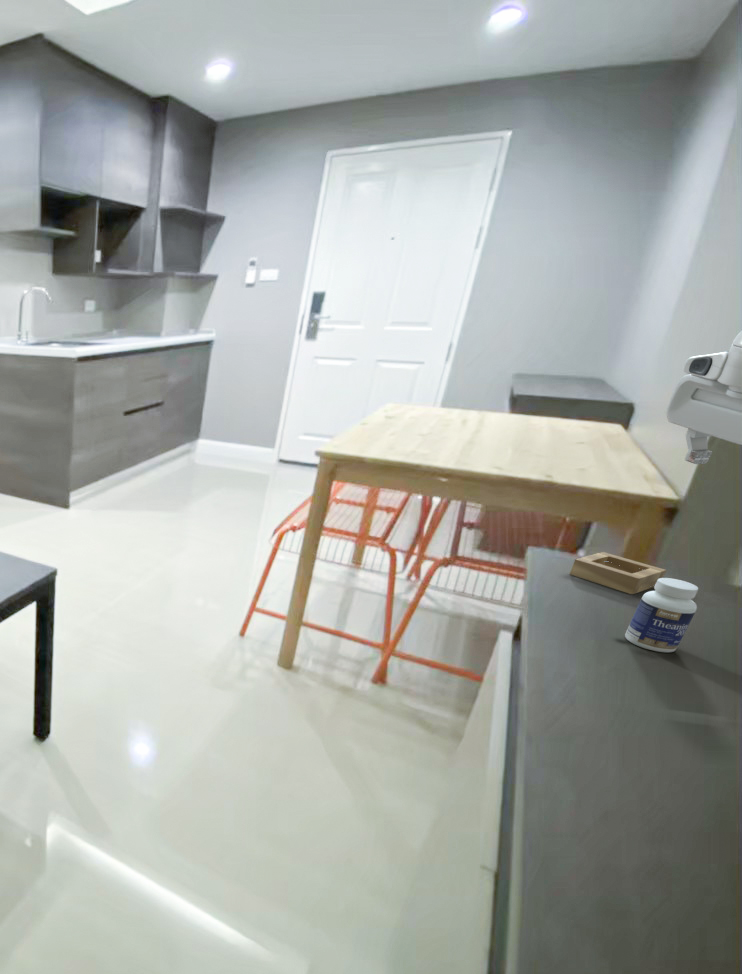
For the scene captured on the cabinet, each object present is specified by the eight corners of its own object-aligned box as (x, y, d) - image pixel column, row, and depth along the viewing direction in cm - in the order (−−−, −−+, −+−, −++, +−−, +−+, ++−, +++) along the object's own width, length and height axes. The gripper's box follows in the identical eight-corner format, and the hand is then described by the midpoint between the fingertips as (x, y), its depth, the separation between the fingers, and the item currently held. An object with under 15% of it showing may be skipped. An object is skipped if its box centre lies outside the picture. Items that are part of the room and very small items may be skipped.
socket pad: (596, 566, 114) (602, 551, 112) (659, 585, 106) (666, 570, 105) (569, 574, 110) (575, 559, 109) (631, 594, 103) (639, 578, 102)
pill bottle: (640, 651, 86) (669, 589, 82) (614, 632, 91) (641, 573, 87) (686, 656, 85) (717, 594, 81) (657, 636, 90) (686, 577, 86)
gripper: (906, 385, 65) (840, 502, 72) (728, 352, 83) (687, 449, 90) (837, 390, 66) (777, 506, 73) (675, 357, 84) (639, 452, 91)
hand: (726, 474), depth 81 cm, fingers open, 8 cm apart
